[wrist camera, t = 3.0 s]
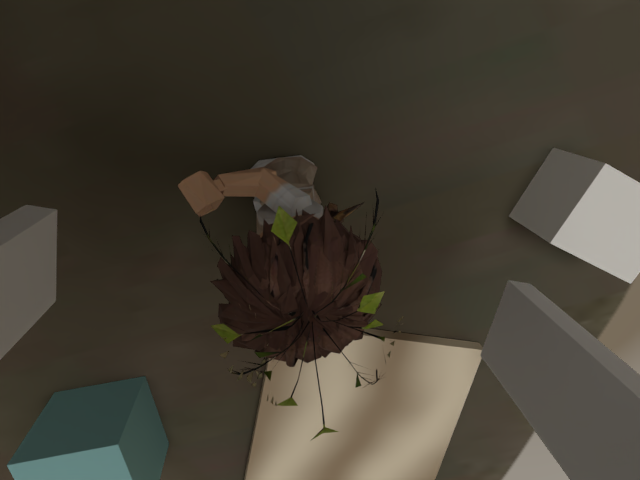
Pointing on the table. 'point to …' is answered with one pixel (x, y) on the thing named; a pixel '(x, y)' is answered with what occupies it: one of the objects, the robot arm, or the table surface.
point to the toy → (291, 268)
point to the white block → (585, 212)
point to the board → (364, 410)
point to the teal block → (95, 436)
